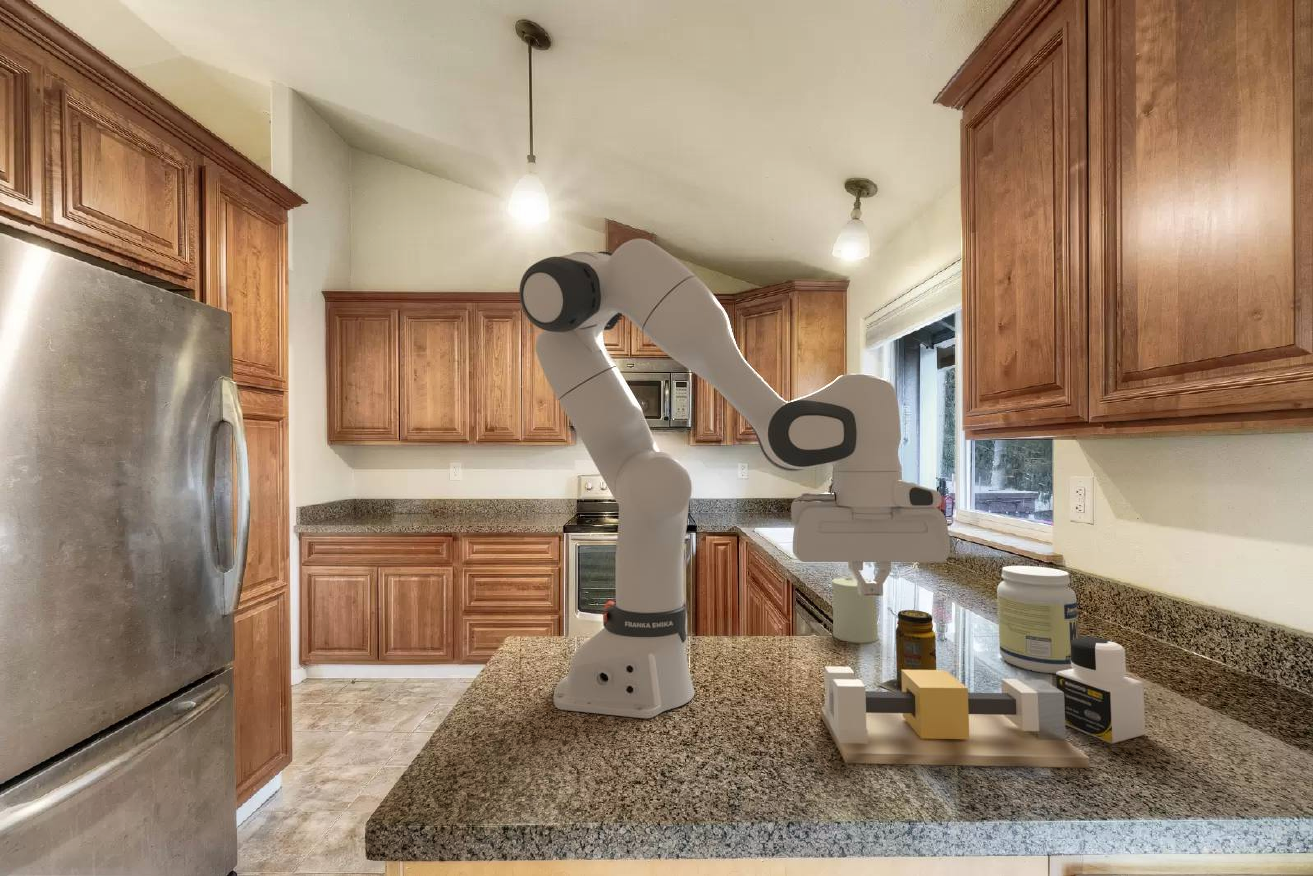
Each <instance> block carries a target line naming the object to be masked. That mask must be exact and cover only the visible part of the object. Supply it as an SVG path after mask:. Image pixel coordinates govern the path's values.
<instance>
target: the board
mask: <svg viewBox="0 0 1313 876" xmlns="http://www.w3.org/2000/svg"><path fill="white" fill-rule="evenodd" d="M820 717H821V719H822V721H823V723H824V725H825V726H826V728H828V729H827V731H828V730H829V731H828V732H829V735H830V736H831V738H832V740H833V741H834V744H835V745H836V748H837V749H838V752H839V751H840V752H839V753H840V755H841V757H842V759H843V761H844V762H845V764H879V765H880V764H882V765H885V764H887V765H929V766H930V765H931V766H932V765H933V766H983V767H985V766H986V767H989V766H990V767H1028V768H1029V767H1031V768H1032V767H1033V768H1035V767H1037V768H1039V767H1040V768H1078V769H1079V768H1080V769H1081V768H1082V769H1083V768H1084V769H1085V768H1087V769H1089V768H1090V767H1091V763H1090V756H1088V755H1087V754H1085V753H1084V752H1082V751H1081V750H1080V749H1079V748H1077V747H1076V746H1075V745H1073V744H1072V743H1070V742H1069V741H1067V739H1066V740H1038V739H1037V738H1036V737H1034V736H1033V735H1032V734H1031V733H1029V732H1028V731H1023V730H1021V729H1020V728H1019V727H1018V726H1016V725H1015V724H1014V723H1013V722H1011V721H1010V720H1009V719H1008V718H1006V717H1005V716H1004V715H991V714H969V739H930V738H921V737H920V736H919V735H918V734H917V733H916V731H915V730H914V729H913V728H912V727H911V726H910V724H909V723H908V722H907V721H906V720H905V718H904V717H903V713H866V728H867V733H868V744H860V743H840V742H839V741H838V739H837V737H836V735H835V733H834V731H833V729H832V728H831V726H830V724H829V722H828V720H827V718H826V717H825V707H821V708H820Z"/></svg>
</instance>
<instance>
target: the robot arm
mask: <svg viewBox="0 0 1313 876" xmlns="http://www.w3.org/2000/svg"><path fill="white" fill-rule="evenodd" d="M518 292H519V294H518V295H519V301H520V305H521V309H522V311H523V313H524V315H525V317H527V319H528V320H529V321H530V322H531V323H532V325H534V326H535V327H537V328H538V329H541V330H542V331H541V333H540V334H539V336H538V337H537V340H536V341H535V352H536V356H537V359H538V362H539V364H540V367H541V370H542V372H543V374H544V376H545V379H546V381H547V383H548V385H549V387H550V389H551V390H552V393H553V394H554V396H555V398H556V399H557V401H558V403H559V405H560V406H561V409H562V410H563V411H564V413H565V414H566V416H567V418H568V419H569V422H570V423H571V425H572V426H573V427H574V430H575V431H576V433H577V434H578V435H577V436H579V438H580V440H581V441H582V444H583V445H584V447H585V448H586V450H587V452H588V454H589V456H590V458H591V460H592V461H593V463H594V465H595V466H596V469H597V471H598V472H599V474H600V476H601V477H602V479H603V481H604V483H605V485H606V486H607V488H608V490H609V492H610V493H611V495H612V497H613V498H614V500H615V502H616V503H617V505H618V522H617V524H618V526H617V540H616V550H615V555H614V557H615V602H614V601H613V600H608V601H607V602H606V603H605V605H604V607H603V614H602V615H603V616H602V618H603V619H602V622H603V627H604V628H602V629H601V630H599V631H598V632H597V633H596V634H595V635H593V636H592V637H591V638H589V639H588V640H587V641H586V642H584V643H583V644H582V645H580V646H579V648H578V649H577V650H576V651H575V653H574V655H573V656H572V659H571V661H570V664H569V668H568V675H566V676H564V677H563V678H562V679H561V680H559V682H558V684H557V685H556V687H555V689H554V692H553V698H552V699H553V700H552V701H553V704H554V706H555V707H556V708H557V709H558V710H564V711H570V712H571V711H572V712H582V713H592V714H600V715H601V714H602V715H609V716H610V715H611V716H620V717H628V718H639V719H652V718H654V717H656V716H658V715H659V714H661V713H663V712H666V711H668V710H671V709H675V708H678V707H681V706H683V705H685V704H687V703H689V702H690V701H691V700H692V699H693V698H694V697H695V688H694V687H695V686H694V684H693V681H692V678H691V677H692V676H691V672H690V669H689V663H688V656H687V647H686V641H687V636H688V612H687V605H686V603H685V602H684V550H685V543H686V535H687V528H688V519H689V506H690V500H691V497H692V490H693V489H692V487H693V486H692V481H691V477H690V474H689V472H688V471H687V469H686V467H685V466H684V465H683V463H682V462H681V461H680V460H679V459H677V458H676V457H675V456H673V455H672V454H669V453H667V452H663V451H661V450H660V447H659V446H658V444H657V441H656V440H655V438H654V435H653V433H652V430H651V429H650V427H649V424H648V422H647V419H646V418H645V414H644V411H643V408H642V406H641V405H640V404H639V402H638V399H636V397H635V395H634V393H633V392H632V389H631V388H630V386H629V385H628V383H627V381H626V380H625V378H624V377H623V374H622V373H621V371H620V369H619V368H618V367H617V364H616V363H615V361H614V360H613V358H612V356H611V354H610V353H609V352H608V349H607V348H606V345H605V343H604V338H603V337H604V331H610V330H612V329H614V328H615V326H616V325H617V323H618V322H619V321H620V319H621V318H622V316H625V318H627V319H628V320H629V321H630V322H631V323H632V324H634V326H635V327H636V328H638V330H639V331H640V332H641V333H642V334H643V335H644V336H645V337H646V338H647V339H648V340H649V341H650V342H651V343H652V344H654V345H655V347H657V348H658V349H660V350H661V351H662V352H663V353H665V354H666V355H667V356H669V357H670V358H671V359H672V360H674V361H676V362H677V363H679V364H680V365H681V366H683V367H684V368H686V369H688V370H689V371H690V372H692V373H693V374H695V375H697V376H698V377H699V378H700V379H702V380H703V381H705V382H706V383H708V385H711V387H713V388H714V389H715V391H716V392H718V393H719V395H721V397H722V398H724V399H725V401H726V402H727V403H728V404H730V406H731V407H732V408H733V409H734V410H735V411H736V412H737V413H738V414H739V415H740V416H741V417H742V418H743V419H744V420H745V421H746V422H747V424H748V425H749V426H750V427H751V428H752V430H753V432H754V434H755V437H756V440H757V442H758V445H759V447H760V448H759V449H760V450H761V452H762V455H764V458H766V460H767V461H768V463H770V464H771V465H773V466H774V467H776V468H778V469H779V470H782V471H787V472H800V471H803V470H807V469H813V468H816V467H818V466H821V465H824V464H831V465H832V467H833V468H832V470H833V471H832V473H833V474H832V475H833V476H832V477H833V492H821V493H808V492H807V493H801V494H800V495H801V496H797V497H796V498H794V500H792V503H791V505H790V517H791V521H792V523H793V524H794V526H793V536H792V553H793V555H794V557H795V558H796V559H797V560H799V561H800V562H801V563H848V570H849V571H850V573H851V574H852V576H853V578H855V579H856V580H857V591H858V594H859V595H860V596H877V597H882V596H883V595H884V585H883V584H884V583H885V582H886V580H887V578H888V577H889V575H890V573H891V572H892V563H944V562H946V560H947V559H948V558H949V556H950V554H951V546H950V545H951V543H950V542H951V541H950V534H949V527H948V523H947V518H946V516H945V515H944V513H943V512H942V511H941V510H940V509H939V508H938V507H939V506H941V504H942V494H941V493H940V492H939V491H938V490H935V489H933V488H928V487H926V486H925V487H924V486H921V485H918V484H917V483H914V482H910V481H909V482H908V481H906V480H905V481H904V479H903V472H902V471H903V470H902V465H901V461H900V458H899V449H900V443H901V439H902V433H901V430H902V429H901V417H900V409H899V401H898V397H897V392H896V390H895V387H894V385H893V384H892V383H891V382H890V381H888V379H885V378H882V377H881V376H878V375H873V374H866V373H845V374H842V375H839V376H838V377H837V378H836V379H835V380H833V381H832V382H830V383H829V384H827V385H826V386H823V387H822V388H821V389H819V390H817V391H814V392H812V393H810V394H808V395H804V396H802V397H799V398H795V399H792V400H790V401H786V400H785V399H783V398H782V397H781V396H779V394H778V393H777V392H776V391H774V390H773V388H772V387H771V386H770V385H769V384H768V383H767V382H766V381H765V380H764V379H763V378H762V377H761V376H760V375H759V374H758V373H757V372H756V371H755V370H754V369H753V368H752V367H751V365H750V364H749V363H748V362H747V361H746V359H745V358H744V357H743V355H742V353H741V351H740V349H739V348H738V346H737V343H736V340H735V338H734V334H733V332H732V331H733V330H732V328H731V327H732V326H731V323H730V319H729V317H728V314H727V312H726V311H725V309H724V308H723V306H722V305H721V303H720V301H719V300H718V299H717V297H716V296H715V294H713V292H712V291H711V290H710V288H708V286H706V284H705V283H704V282H703V281H702V280H701V279H700V278H699V277H698V276H697V275H696V274H694V273H693V272H692V271H691V270H690V269H689V268H688V267H687V266H686V265H685V264H683V263H682V262H681V261H680V260H678V259H677V258H676V257H674V256H673V255H672V254H670V253H669V252H668V251H667V250H665V249H663V248H662V247H661V246H659V245H657V244H655V243H654V242H653V241H651V240H648V239H645V238H634V239H631V240H628V241H626V242H624V243H622V244H621V245H620V246H618V247H617V248H616V249H615V250H614V252H613V253H612V252H609V251H597V252H596V251H576V252H572V253H569V254H564V255H561V256H549V257H546V258H543V259H541V260H539V261H537V262H535V263H533V264H532V265H531V266H529V267H528V268H527V270H526V271H525V272H524V273H523V276H522V278H521V280H520V284H519V291H518ZM799 500H800V501H799ZM864 563H875V568H877V569H878V570H877V572H876V575H875V577H874V579H873V580H872V579H868V580H869V581H867V580H864V579H865V578H864V577H863V575H862V574H861V572H860V571H863V570H864Z"/></svg>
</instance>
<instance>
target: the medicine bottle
mask: <svg viewBox="0 0 1313 876" xmlns="http://www.w3.org/2000/svg"><path fill="white" fill-rule="evenodd" d="M1070 645H1071V666H1072V667H1073V669H1068V670H1063V671H1058V672H1057V673H1055V674H1056V675H1055V676H1056V677H1055V680H1056V688H1057V689H1059V690H1061V691H1062V692H1064V703H1065V726H1067V727H1070V728H1072V729H1073V730H1077V731H1079V732H1080V733H1081V732H1082V733H1083V734H1086V735H1088V736H1091V737H1094V738H1096V739H1099V740H1101V741H1103V742H1105V743H1108V744H1110V745H1112V744H1117V743H1120V742H1124V741H1128V740H1131V739H1135V738H1138V737H1141V736H1142V737H1143V736H1144V735H1146V719H1145V718H1146V717H1145V713H1146V712H1145V697H1144V696H1145V695H1144V694H1145V693H1144V683H1143V682H1142V681H1141V680H1137V679H1135V678H1132V677H1127V668H1126V667H1127V664H1126V663H1127V662H1126V661H1127V660H1126V649H1125V648H1124V647H1123V645H1120V644H1119V643H1117V642H1115V641H1113V640H1110V639H1105V638H1102V637H1093V636H1081V637H1080V636H1078V638H1075V639H1073V640H1072V641H1071V642H1070Z"/></svg>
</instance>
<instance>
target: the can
mask: <svg viewBox="0 0 1313 876" xmlns="http://www.w3.org/2000/svg"><path fill="white" fill-rule="evenodd" d="M863 579H864V580H867V581H869V580H870V579H867V578H863ZM831 585H832V588H831V589H832V610H833V611H832V614H833V616H832V617H833V618H832V619H833V622H832V625H833V627H832V630H833V631H832V636H833V637H834V638H835V639H837V640H840V641H843V642H848V643H856V644H869V643H874V642H877V641H878V640H879V638H880V637H879V631H878V629H879V628H878V603H877V601H878V598H877V597H878V596H860V595H859V594H858V591H857V580H856V579H855V577H838V578H834V579H832V580H831Z"/></svg>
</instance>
